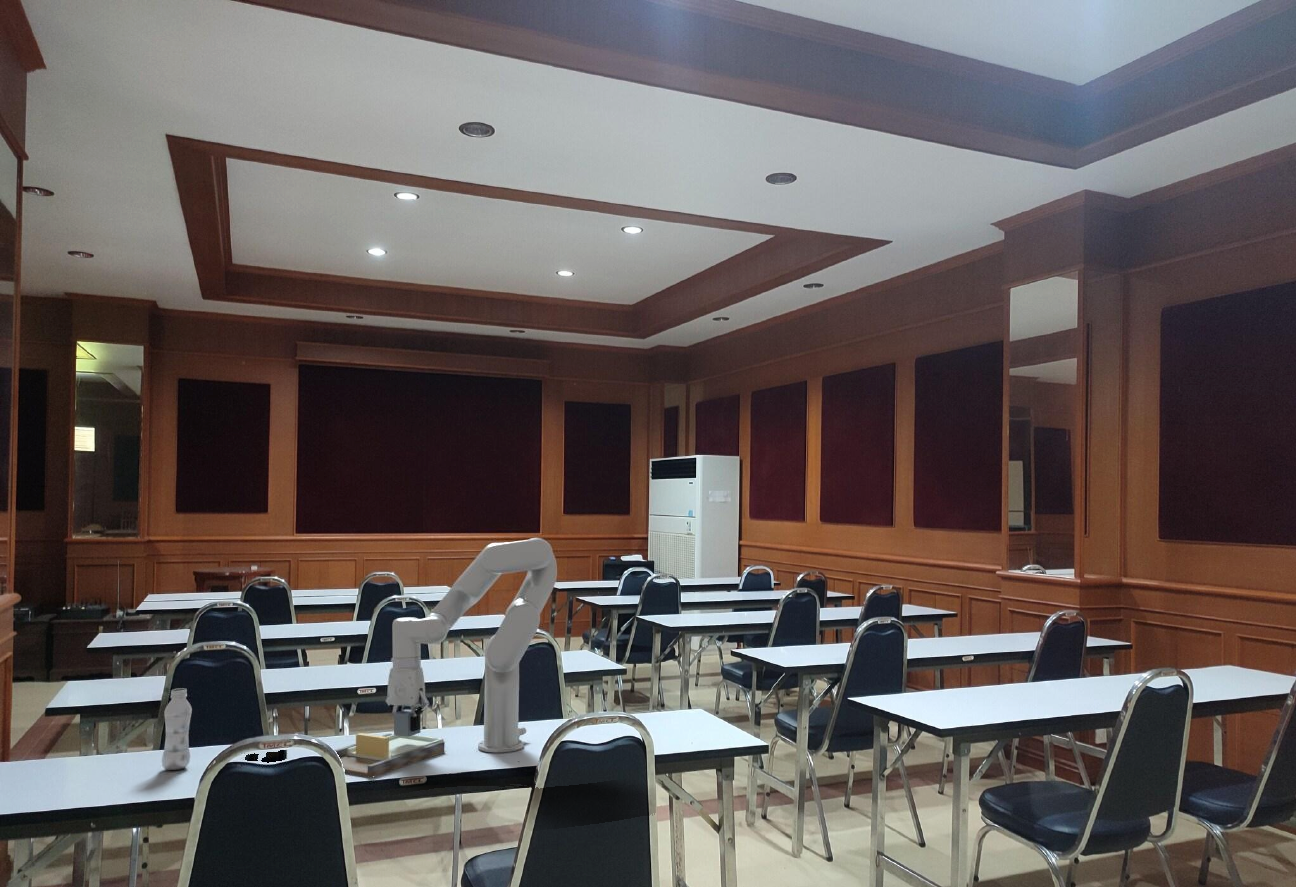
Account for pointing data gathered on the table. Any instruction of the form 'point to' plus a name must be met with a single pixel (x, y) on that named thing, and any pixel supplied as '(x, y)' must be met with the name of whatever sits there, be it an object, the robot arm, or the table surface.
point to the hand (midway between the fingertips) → (407, 728)
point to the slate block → (403, 723)
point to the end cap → (269, 756)
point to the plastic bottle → (177, 731)
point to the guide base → (379, 767)
